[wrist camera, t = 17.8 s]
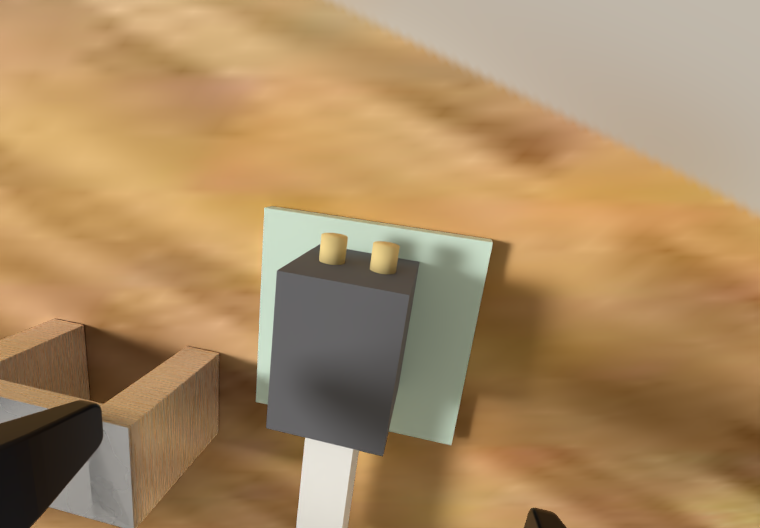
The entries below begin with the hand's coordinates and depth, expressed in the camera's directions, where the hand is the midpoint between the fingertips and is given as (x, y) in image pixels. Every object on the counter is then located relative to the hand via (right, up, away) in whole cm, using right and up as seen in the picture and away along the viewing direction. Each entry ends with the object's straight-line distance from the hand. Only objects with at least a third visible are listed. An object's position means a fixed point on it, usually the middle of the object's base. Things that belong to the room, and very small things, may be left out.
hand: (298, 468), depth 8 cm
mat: (+1, +2, +7) cm, 8 cm away
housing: (-9, -1, +10) cm, 13 cm away
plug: (0, -1, +7) cm, 7 cm away
